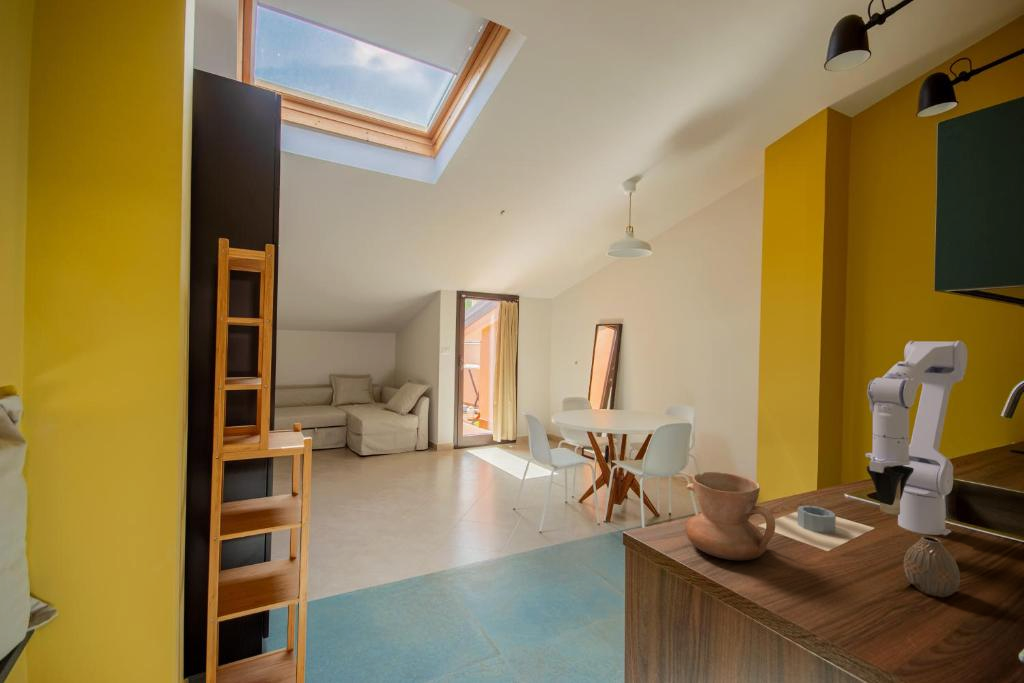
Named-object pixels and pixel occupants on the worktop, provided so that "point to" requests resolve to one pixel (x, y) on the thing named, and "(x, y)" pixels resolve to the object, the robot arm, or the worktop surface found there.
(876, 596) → the worktop surface
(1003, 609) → the worktop surface
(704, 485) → the ceramic jug
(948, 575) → the vase
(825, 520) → the grey faceted ring
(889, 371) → the robot arm
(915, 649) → the worktop surface
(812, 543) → the board
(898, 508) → the wick peg
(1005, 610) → the worktop surface
